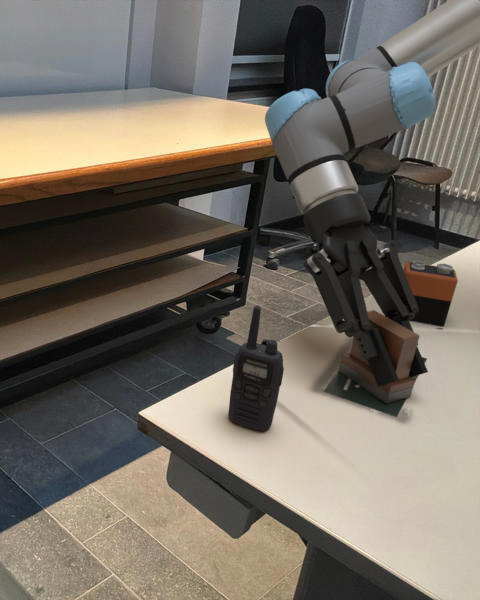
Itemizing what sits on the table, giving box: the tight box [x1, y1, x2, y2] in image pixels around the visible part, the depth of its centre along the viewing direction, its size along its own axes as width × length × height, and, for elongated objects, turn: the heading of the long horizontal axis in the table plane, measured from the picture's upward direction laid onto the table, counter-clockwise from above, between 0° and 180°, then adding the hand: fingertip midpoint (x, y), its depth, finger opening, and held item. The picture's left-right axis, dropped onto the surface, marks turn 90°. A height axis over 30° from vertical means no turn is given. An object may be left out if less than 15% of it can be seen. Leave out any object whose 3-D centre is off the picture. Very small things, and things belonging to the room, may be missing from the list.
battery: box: [395, 260, 459, 330], centre depth 99 cm, size 4×7×10 cm, turn 68°
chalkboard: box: [323, 356, 428, 418], centre depth 87 cm, size 18×10×1 cm, turn 144°
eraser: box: [338, 309, 420, 404], centre depth 83 cm, size 8×4×8 cm, turn 24°
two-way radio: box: [227, 305, 285, 432], centre depth 76 cm, size 6×4×15 cm
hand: (402, 378), depth 80 cm, fingers closed on eraser, 4 cm apart
